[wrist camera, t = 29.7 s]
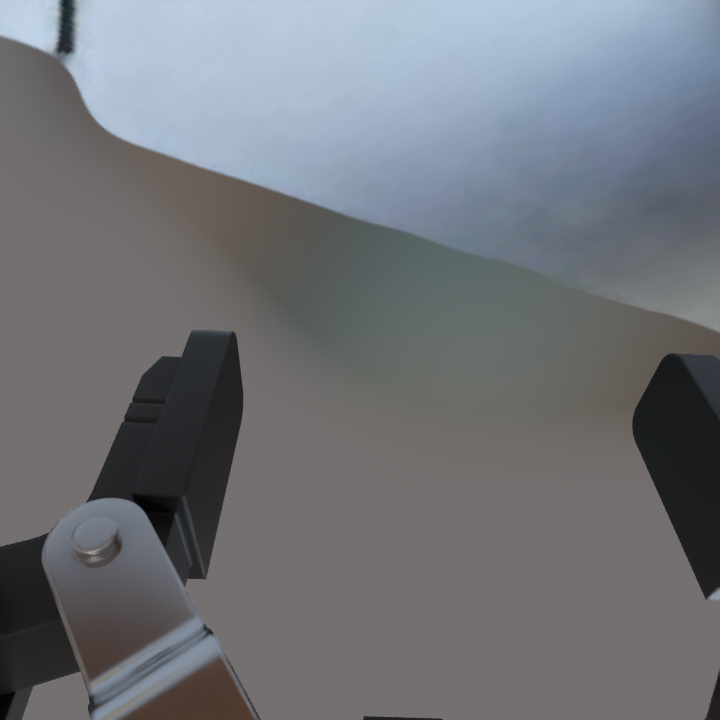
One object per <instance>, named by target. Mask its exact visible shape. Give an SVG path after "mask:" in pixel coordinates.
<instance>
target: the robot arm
mask: <svg viewBox="0 0 720 720" xmlns="http://www.w3.org/2000/svg"><path fill="white" fill-rule="evenodd" d="M242 412H243V387H242V378H241V370H240V362H239V353H238V345H237V338H236V334H235V332H231V331H210V330H193V331H192V332H191V334H190V336H189V338H188V341H187V344H186V346H185V349H184V352H183V355H182V357H167V356H166V357H165V356H162V357H161V358H160V359H159V360H158V361H157V362H156V363H155V364H154V365H153V366H152V367H151V368H150V369H149V370H148V371H147V372H146V373H144V374H143V376H142V377H141V380H140V382H139V384H138V387H137V389H136V391H135V394H134V396H133V402H132V403H130V405H129V408H128V410H127V413H126V415H125V420H124V422H122V424H121V426H120V429H119V431H118V433H117V435H116V438H115V440H114V442H113V445H112V447H111V449H110V452H109V454H108V456H107V459H106V461H105V463H104V466H103V468H102V470H101V473H100V475H99V477H98V479H97V482H96V484H95V486H94V489H93V491H92V493H91V495H90V497H89V499H88V500H87V502H86V503H85V504H83V505H80V506H79V507H77V508H75V509H73V510H72V511H70V512H69V513H68V514H66V515H65V516H64V517H62V518H61V519H60V521H58V522H57V523H56V525H55V526H54V527H53V528H52V529H51V531H50V532H49V533H47V534H44V535H42V536H40V537H36V538H33V539H30V540H26V541H22V542H18V543H14V544H10V545H6V546H1V547H0V720H22V717H23V714H24V712H25V709H26V706H27V703H28V700H29V697H30V694H31V691H32V688H33V686H35V685H38V684H41V683H44V682H47V681H51V680H54V679H57V678H60V677H64V676H67V675H70V674H73V673H76V672H81V675H82V677H83V680H84V683H85V686H86V689H87V692H88V696H89V701H90V703H89V705H88V710H89V716H90V720H261V719H260V717H259V715H258V713H257V712H256V710H255V708H254V706H253V705H252V702H251V701H250V698H249V697H248V695H247V693H246V691H245V690H244V687H243V685H242V684H241V682H240V680H239V678H238V676H237V674H236V672H235V671H234V669H233V667H232V665H231V663H230V661H229V659H228V658H227V656H226V654H225V652H224V650H223V648H222V647H221V645H220V643H219V641H218V640H217V638H216V636H215V635H214V633H213V632H212V631H211V629H210V628H207V627H206V625H205V624H204V622H203V620H202V619H201V617H200V615H199V613H198V611H197V609H196V607H195V605H194V604H193V602H192V600H191V598H190V596H189V594H188V592H187V590H186V588H185V586H186V582H187V579H206V577H207V573H208V568H209V564H210V559H211V554H212V550H213V545H214V541H215V537H216V532H217V528H218V523H219V519H220V514H221V510H222V505H223V501H224V497H225V492H226V488H227V483H228V479H229V474H230V470H231V465H232V461H233V456H234V452H235V447H236V442H237V439H238V434H239V430H240V425H241V420H242ZM632 425H633V426H632V427H633V435H634V439H635V441H636V444H637V446H638V449H639V451H640V453H641V455H642V458H643V460H644V462H645V464H646V467H647V469H648V471H649V473H650V476H651V478H652V480H653V482H654V485H655V487H656V489H657V491H658V493H659V495H660V498H661V500H662V502H663V505H664V507H665V509H666V511H667V514H668V516H669V518H670V520H671V523H672V524H673V527H674V529H675V531H676V534H677V536H678V538H679V540H680V543H681V545H682V547H683V549H684V552H685V554H686V556H687V558H688V561H689V563H690V565H691V567H692V570H693V572H694V574H695V576H696V579H697V581H698V583H699V585H700V587H701V590H702V592H703V594H704V596H705V599H706V600H720V360H719V359H718V358H716V357H715V356H711V355H694V354H668V355H667V356H665V357H664V358H663V360H662V361H661V362H660V364H659V366H658V368H657V370H656V372H655V374H654V375H653V377H652V379H651V381H650V383H649V385H648V387H647V389H646V390H645V392H644V394H643V396H642V398H641V400H640V401H639V403H638V405H637V407H636V409H635V412H634V416H633V424H632ZM363 720H442V719H433V718H432V719H431V718H400V717H399V718H397V717H367V716H364V718H363ZM704 720H720V669H719V672H718V676H717V680H716V683H715V687H714V690H713V694H712V697H711V701H710V704H709V708H708V711H707V714H706V716H705V719H704Z"/></svg>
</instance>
